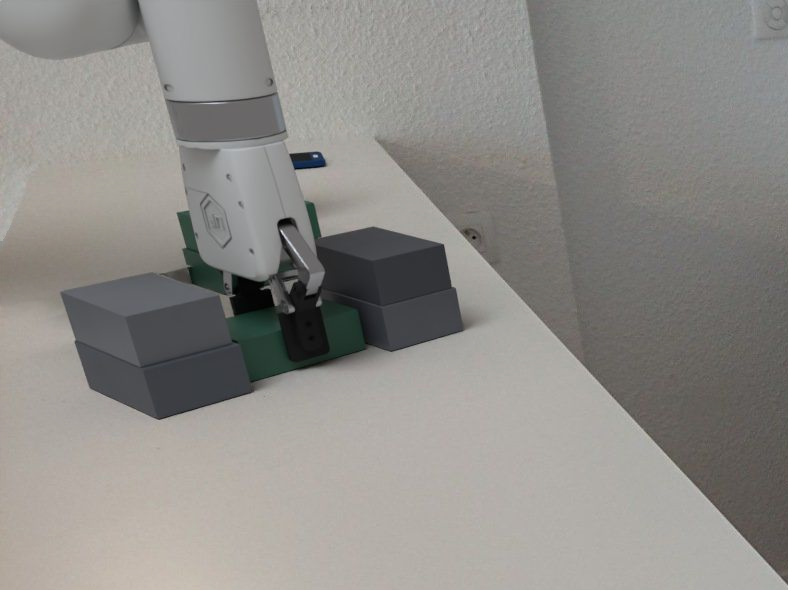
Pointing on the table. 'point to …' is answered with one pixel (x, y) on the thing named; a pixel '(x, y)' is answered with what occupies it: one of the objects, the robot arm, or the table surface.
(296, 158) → the cell phone
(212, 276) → the green stack
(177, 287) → the grey blocks
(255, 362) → the green block
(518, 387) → the table surface
